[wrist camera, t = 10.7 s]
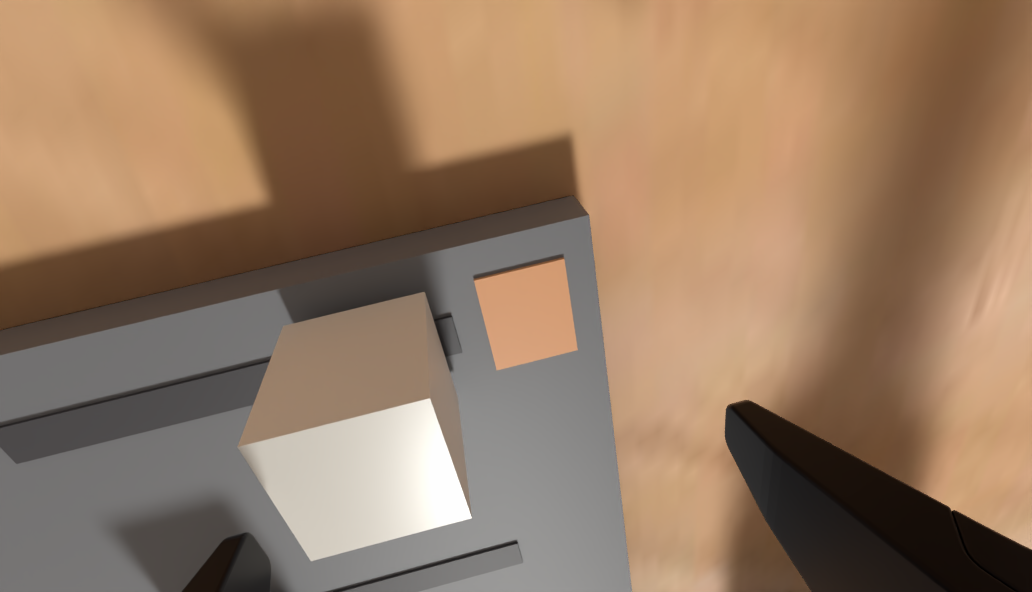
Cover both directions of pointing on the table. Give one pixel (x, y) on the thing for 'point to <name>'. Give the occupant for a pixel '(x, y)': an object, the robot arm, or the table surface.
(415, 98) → the table surface
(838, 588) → the robot arm
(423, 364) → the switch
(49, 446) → the switch board
